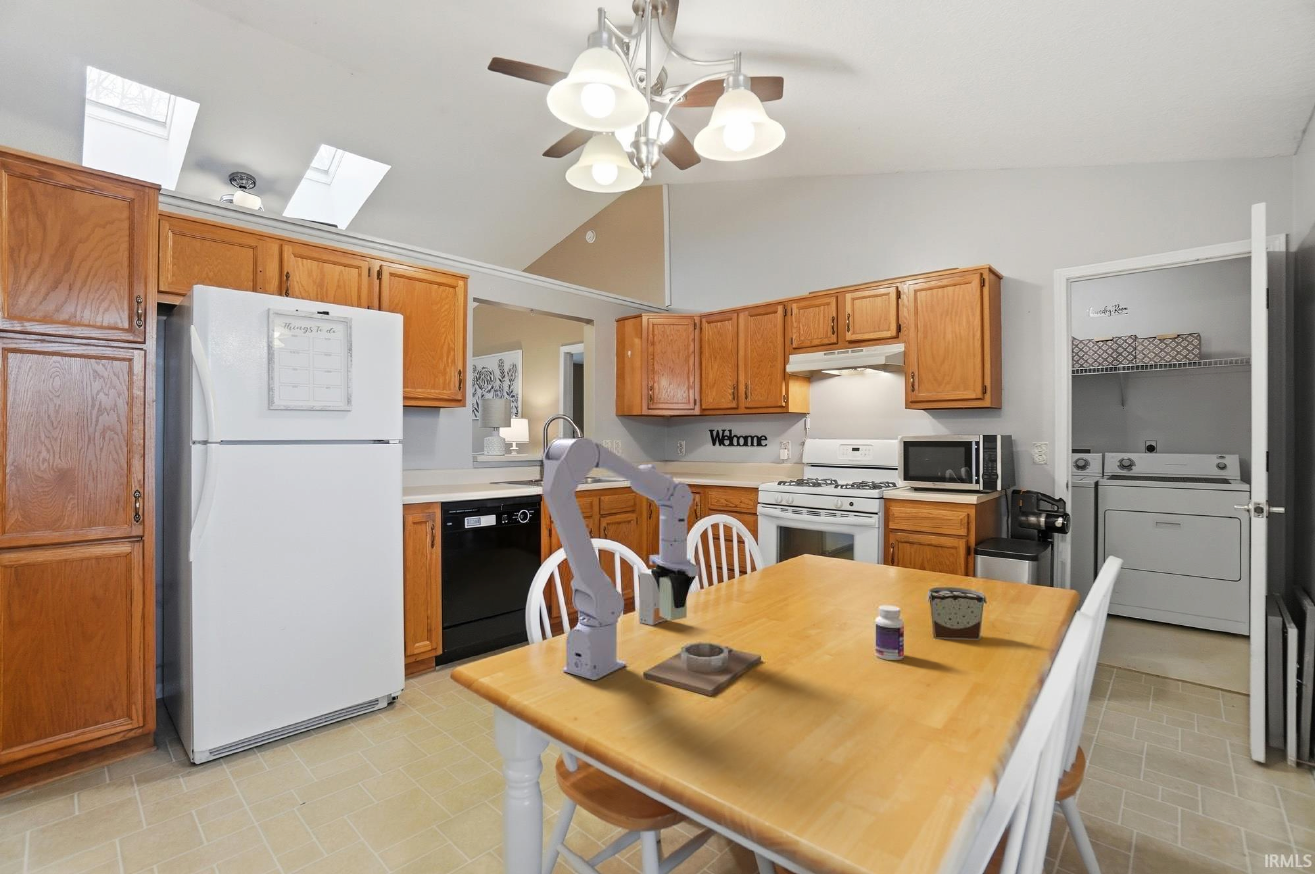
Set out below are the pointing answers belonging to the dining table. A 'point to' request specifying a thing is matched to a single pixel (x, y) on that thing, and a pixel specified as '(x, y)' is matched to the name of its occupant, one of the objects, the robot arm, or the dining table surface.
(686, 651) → the cup bracket
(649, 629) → the dining table surface
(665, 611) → the sage peg
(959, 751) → the dining table surface
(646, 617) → the skincare box
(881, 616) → the pill bottle
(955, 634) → the food container
